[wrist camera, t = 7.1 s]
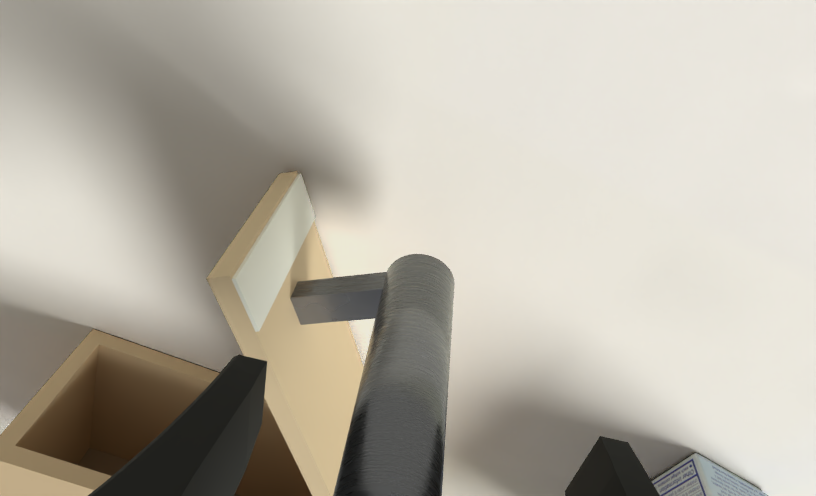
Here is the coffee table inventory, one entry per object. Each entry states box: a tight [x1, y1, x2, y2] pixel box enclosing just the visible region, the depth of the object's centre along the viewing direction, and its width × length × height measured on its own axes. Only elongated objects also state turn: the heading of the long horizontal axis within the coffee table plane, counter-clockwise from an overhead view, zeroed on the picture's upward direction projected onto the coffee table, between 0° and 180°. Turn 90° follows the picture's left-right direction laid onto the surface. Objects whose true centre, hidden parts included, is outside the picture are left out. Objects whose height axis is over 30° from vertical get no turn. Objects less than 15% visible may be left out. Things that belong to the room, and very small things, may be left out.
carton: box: [0, 329, 312, 496], centre depth 23 cm, size 8×12×6 cm, turn 68°
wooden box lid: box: [206, 171, 454, 496], centre depth 16 cm, size 5×12×10 cm, turn 12°
